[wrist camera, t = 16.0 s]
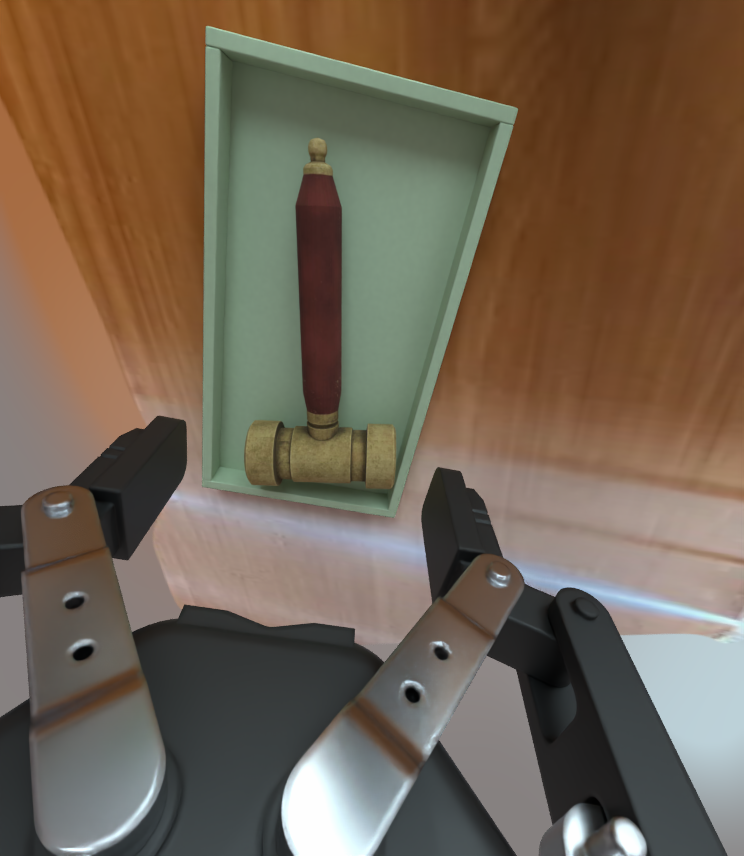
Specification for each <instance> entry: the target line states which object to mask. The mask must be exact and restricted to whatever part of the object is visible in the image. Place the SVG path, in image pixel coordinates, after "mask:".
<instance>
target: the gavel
mask: <svg viewBox="0 0 744 856" xmlns="http://www.w3.org/2000/svg"><path fill="white" fill-rule="evenodd" d="M308 152H309V155H310V160H311V162H309V163H307V164H306V165H305V166H304V168H303V178H302V182H301V186H300V190H299V194H298V198H297V201H296V205H295V210H296V235H297V259H298V284H299V309H300V334H301V359H302V384H303V395H304V399H305V404H306V408H307V420H308V421H307V426H295V428H285V427H284V424H283V422H282V421H270V420H255V421H254V422H253V423H252V424H251V425H250V427H249V429H248V432H247V436H246V441H245V449H244V466H245V473H246V476H247V479H248V480H249V482H250V483H251V485H266V486H279V485H280V484H281V482H282V479H292V480H293V482H317V483H351V481H361V482H365V487H366V488H369V489H391V488H392V487H393V485H394V481H395V470H396V430H395V427H394V426H393V424H368V425H367V429H366V430H353V428H352V427H339V421H338V408H339V403H340V397H341V385H342V206H341V203H340V199H339V196H338V192H337V189H336V186H335V182H334V179H333V169H332V167H331V166H330V165H328V164H327V163H325V157H326V155H327V144H326V142H325V141H324V140H322V139H320V138H318V137H317V138H314V139H311V140H310V142H309V144H308Z"/></svg>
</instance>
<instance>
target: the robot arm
mask: <svg viewBox="0 0 744 856" xmlns="http://www.w3.org/2000/svg"><path fill="white" fill-rule="evenodd" d="M186 465H187V429H186V422H185V421H184V420H180V419H175V418H169V417H164V416H157V417H156V418H155V419H154V420H153V421H152V422H151V423H150V424H149V425H148V426H147V427H146V428H145V429H139V428H136V429H134V430H131V431H129V432H127V433H125V434H123V435H121V436H119V437H118V438H117V439H116V440H115V441H114V442H113V443H112V444H111V445H110V447H109V448H107V449H106V450H105V451H104V452H103V453H102V454H101V456H100V457H98V458H97V459H96V460H95V461H94V462H93V463H91V464H90V465H89V467H87V468H86V469H85V470H84V471H83V472H82V473H81V474H80V475H79V476H78V477H77V478H76V479H75V480H74V481H73V482H72V483H71V484H70V485H66V486H57V487H52V488H49V489H46V490H43V491H40V492H38V493H36V494H34V495H33V496H32V497H30V498H29V499H28V500H27V501H26V502H25V503H24V504H23V505H16V506H0V597H5V596H13V595H21V594H22V595H23V610H24V624H25V638H26V653H27V668H28V682H29V696H30V698H29V699H28V700H26V701H24V702H23V703H21V704H20V705H18V706H17V707H15V708H14V709H12V710H11V711H9V712H8V713H6V714H5V715H3V716H1V717H0V856H517V855H516V854H515V852H514V851H513V850H512V848H511V847H510V845H509V844H508V842H507V841H506V839H505V838H504V836H503V835H502V833H501V832H500V830H499V829H498V827H497V826H496V824H495V823H494V821H493V820H492V818H491V817H490V815H489V814H488V812H487V811H486V809H485V808H484V806H483V805H482V803H481V802H480V800H479V799H478V797H477V796H476V794H475V793H474V792H473V790H472V789H471V787H470V786H469V784H468V783H467V781H466V780H465V778H464V777H463V775H462V774H461V772H460V771H459V769H458V768H457V766H456V765H455V763H454V762H453V760H452V759H451V757H450V756H449V754H448V753H447V751H446V750H445V748H444V747H443V745H442V744H441V742H440V741H439V738H440V737H441V735H442V733H443V731H444V729H445V728H446V726H447V724H448V722H449V720H450V719H451V717H452V715H453V714H454V712H455V710H456V708H457V707H458V704H459V703H460V701H461V699H462V698H463V696H464V694H465V692H466V691H467V689H468V687H469V686H470V684H471V682H472V680H473V678H474V677H475V675H476V673H477V671H478V670H479V668H480V666H481V664H482V663H483V661H484V659H485V657H486V656H489V657H491V658H493V659H495V660H497V661H499V662H502V663H504V664H506V665H508V666H510V667H512V668H514V669H516V671H517V675H518V679H519V683H520V688H521V692H522V696H523V701H524V705H525V709H526V713H527V718H528V722H529V726H530V730H531V735H532V739H533V743H534V748H535V752H536V756H537V760H538V765H539V769H540V773H541V778H542V782H543V786H544V790H545V795H546V799H547V803H548V807H549V811H550V816H551V820H552V826H551V827H550V828H549V829H548V830H547V831H546V832H545V834H544V835H543V837H542V840H541V842H540V847H539V856H727V854H726V852H725V849H724V847H723V845H722V843H721V841H720V839H719V837H718V835H717V833H716V831H715V829H714V827H713V825H712V823H711V821H710V819H709V817H708V815H707V813H706V811H705V808H704V806H703V805H702V802H701V800H700V798H699V797H698V794H697V792H696V790H695V788H694V786H693V784H692V782H691V780H690V778H689V776H688V774H687V772H686V770H685V767H684V765H683V763H682V762H681V759H680V757H679V755H678V753H677V751H676V749H675V747H674V745H673V743H672V741H671V739H670V737H669V735H668V733H667V731H666V729H665V727H664V725H663V723H662V720H661V718H660V716H659V714H658V712H657V710H656V708H655V706H654V704H653V702H652V700H651V698H650V696H649V694H648V692H647V690H646V688H645V686H644V684H643V682H642V679H641V678H640V675H639V673H638V671H637V670H636V667H635V665H634V663H633V661H632V659H631V657H630V655H629V653H628V651H627V649H626V647H625V645H624V643H623V640H622V638H621V636H620V634H619V632H618V630H617V628H616V626H615V624H614V622H613V620H612V618H611V616H610V614H609V612H608V611H607V610H606V608H605V607H604V606H603V605H602V604H601V603H600V602H599V601H598V600H597V599H595V598H594V597H593V596H591V595H590V594H588V593H586V592H584V591H582V590H579V589H576V588H563V589H561V590H560V591H559V592H558V593H557V595H556V596H555V597H553V596H551V595H549V594H546V593H544V592H542V591H539V590H537V589H535V588H532V587H530V586H528V585H527V584H525V583H524V579H523V577H522V575H521V573H520V572H519V570H518V569H517V568H516V567H515V566H514V565H513V564H512V563H511V562H509V561H508V560H506V559H504V558H503V556H502V553H501V550H500V547H499V544H498V541H497V539H496V536H495V533H494V530H493V527H492V525H491V521H490V518H489V515H487V513H488V512H487V509H486V506H485V503H484V501H483V499H482V498H481V497H480V496H479V495H478V493H477V492H476V491H475V490H474V489H470V488H466V486H465V483H464V479H463V476H462V473H461V472H460V471H456V470H450V469H445V468H440V467H438V468H437V469H436V471H435V473H434V476H433V478H432V481H431V484H430V487H429V490H428V493H427V495H426V498H425V501H424V504H423V508H422V516H421V522H422V530H423V537H424V545H425V552H426V560H427V567H428V574H429V582H430V589H431V597H432V605H431V606H430V607H429V609H428V610H427V611H426V612H425V614H424V615H423V616H422V617H421V618H420V620H419V621H418V622H417V623H416V625H415V626H414V627H413V628H412V629H411V631H410V632H409V633H408V634H407V636H406V637H405V638H404V639H403V640H402V642H401V643H400V644H399V645H398V647H397V648H396V649H395V650H394V651H393V653H392V654H391V655H390V656H389V658H388V659H387V660H386V661H385V662H383V661H382V660H381V659H380V658H379V657H378V656H377V655H375V654H374V653H372V652H371V651H370V650H368V649H366V648H365V647H363V646H361V645H359V644H356V643H354V637H355V629H353V628H346V627H339V626H332V625H325V624H318V623H309V624H299V625H289V626H279V627H267V626H264V625H261V624H259V623H256V622H254V621H251V620H249V619H247V618H244V617H242V616H239V615H237V614H234V613H232V612H229V611H226V610H219V609H212V608H205V607H197V606H190V605H184V607H183V609H182V611H181V613H180V616H179V618H178V619H170V620H165V621H160V622H157V623H154V624H151V625H148V626H145V627H143V628H140V629H138V630H136V631H134V632H132V631H131V627H130V624H129V620H128V616H127V613H126V609H125V605H124V601H123V597H122V594H121V590H120V586H119V583H118V579H117V575H116V571H115V568H114V564H113V560H112V558H116V559H122V560H129V558H130V557H131V555H132V554H133V553H134V551H135V549H136V548H137V547H138V545H139V543H140V542H141V540H142V539H143V537H144V536H145V534H146V533H147V532H148V530H149V529H150V527H151V525H152V524H153V523H154V521H155V520H156V518H157V517H158V515H159V514H160V512H161V511H162V509H163V508H164V506H165V505H166V503H167V502H168V500H169V499H170V497H171V496H172V494H173V493H174V491H175V490H176V488H177V487H178V485H179V484H180V482H181V481H182V479H183V476H184V474H185V470H186Z"/></svg>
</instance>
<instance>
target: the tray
mask: <svg viewBox="0 0 744 856" xmlns="http://www.w3.org/2000/svg"><path fill="white" fill-rule="evenodd" d="M206 45H207V46H206V48H205V174H204V306H203V438H202V487H206V488H212V489H219V490H225V491H231V492H237V493H243V494H249V495H256V496H262V497H268V498H274V499H280V500H287V501H293V502H299V503H305V504H311V505H317V506H324V507H330V508H336V509H342V510H348V511H354V512H361V513H367V514H373V515H379V516H385V517H391V518H394V517H395V515H396V511H397V508H398V505H399V502H400V498H401V495H402V492H403V488H404V485H405V482H406V479H407V475H408V472H409V469H410V465H411V462H412V459H413V456H414V452H415V449H416V446H417V442H418V439H419V436H420V432H421V429H422V426H423V423H424V419H425V416H426V413H427V409H428V406H429V403H430V399H431V396H432V393H433V390H434V386H435V383H436V380H437V376H438V373H439V370H440V367H441V363H442V360H443V357H444V353H445V350H446V347H447V343H448V340H449V337H450V334H451V330H452V327H453V324H454V320H455V317H456V314H457V310H458V307H459V304H460V301H461V297H462V294H463V291H464V287H465V284H466V281H467V277H468V274H469V271H470V268H471V264H472V261H473V258H474V254H475V251H476V248H477V245H478V241H479V238H480V235H481V231H482V228H483V225H484V221H485V218H486V215H487V212H488V208H489V205H490V202H491V198H492V195H493V192H494V188H495V185H496V182H497V179H498V175H499V172H500V169H501V165H502V162H503V159H504V155H505V152H506V149H507V146H508V142H509V139H510V136H511V132H512V129H513V124H514V122H515V119H516V115H517V112H518V108H515V107H512V106H508V105H504V104H500V103H496V102H493V101H489V100H485V99H481V98H478V97H474V96H470V95H466V94H463V93H459V92H455V91H451V90H447V89H444V88H440V87H436V86H432V85H429V84H425V83H421V82H417V81H413V80H410V79H406V78H402V77H398V76H395V75H391V74H387V73H383V72H379V71H376V70H372V69H368V68H364V67H361V66H357V65H353V64H349V63H346V62H342V61H338V60H334V59H330V58H327V57H323V56H319V55H315V54H312V53H308V52H304V51H300V50H296V49H293V48H289V47H285V46H281V45H278V44H274V43H270V42H266V41H263V40H259V39H255V38H251V37H247V36H244V35H240V34H236V33H232V32H229V31H225V30H221V29H217V28H213V27H210V26H206ZM317 137H318V138H320V139H322V140H324V141H325V142H326V144H327V155H326V157H325V163H327V164H328V165H330V166H331V167H332V169H333V179H334V182H335V186H336V189H337V192H338V196H339V199H340V203H341V206H342V385H341V397H340V403H339V408H338V421H339V427H352V428H353V430H366V429H367V425H368V424H393V426H394V427H395V430H396V470H395V481H394V485H393V487H392V488H391V489H369V488H366V487H365V482H361V481H351V483H317V482H293V480H292V479H282V482H281V484H280V485H279V486H266V485H251V483H250V482H249V480H248V479H247V476H246V473H245V466H244V449H245V441H246V436H247V432H248V429H249V427H250V425H251V424H252V423H253V422H254V421H255V420H270V421H282V422H283V424H284V427H285V428H295V426H307V421H308V420H307V408H306V404H305V399H304V395H303V384H302V359H301V334H300V309H299V284H298V259H297V235H296V210H295V205H296V201H297V198H298V194H299V190H300V186H301V182H302V178H303V168H304V166H305V165H306V164H307V163H309V162H311V160H310V155H309V152H308V144H309V142H310V140H311V139H314V138H317Z"/></svg>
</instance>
